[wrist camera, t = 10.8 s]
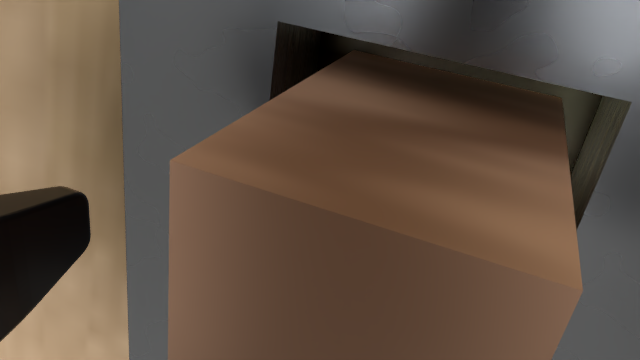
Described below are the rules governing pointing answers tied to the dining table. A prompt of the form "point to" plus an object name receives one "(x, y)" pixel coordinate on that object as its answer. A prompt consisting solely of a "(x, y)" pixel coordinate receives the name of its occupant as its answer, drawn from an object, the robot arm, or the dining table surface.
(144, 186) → the plate
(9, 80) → the dining table surface
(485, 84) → the peg
